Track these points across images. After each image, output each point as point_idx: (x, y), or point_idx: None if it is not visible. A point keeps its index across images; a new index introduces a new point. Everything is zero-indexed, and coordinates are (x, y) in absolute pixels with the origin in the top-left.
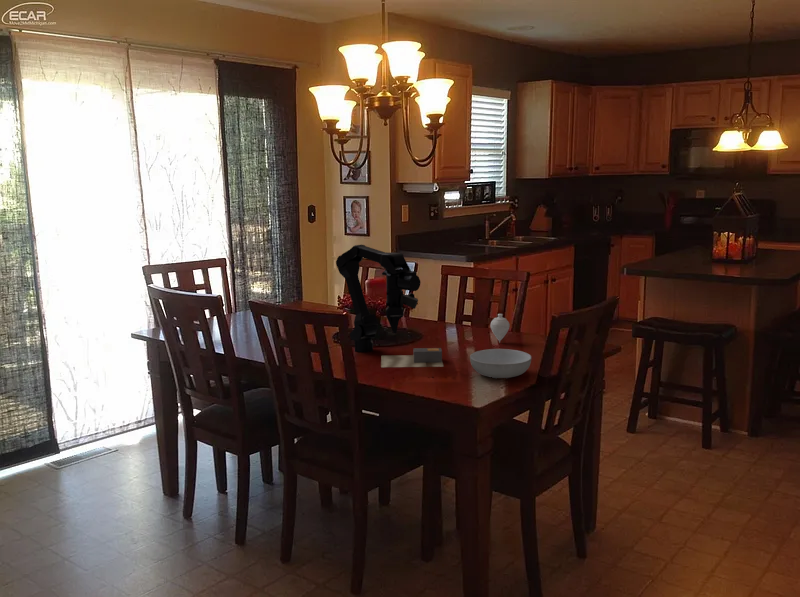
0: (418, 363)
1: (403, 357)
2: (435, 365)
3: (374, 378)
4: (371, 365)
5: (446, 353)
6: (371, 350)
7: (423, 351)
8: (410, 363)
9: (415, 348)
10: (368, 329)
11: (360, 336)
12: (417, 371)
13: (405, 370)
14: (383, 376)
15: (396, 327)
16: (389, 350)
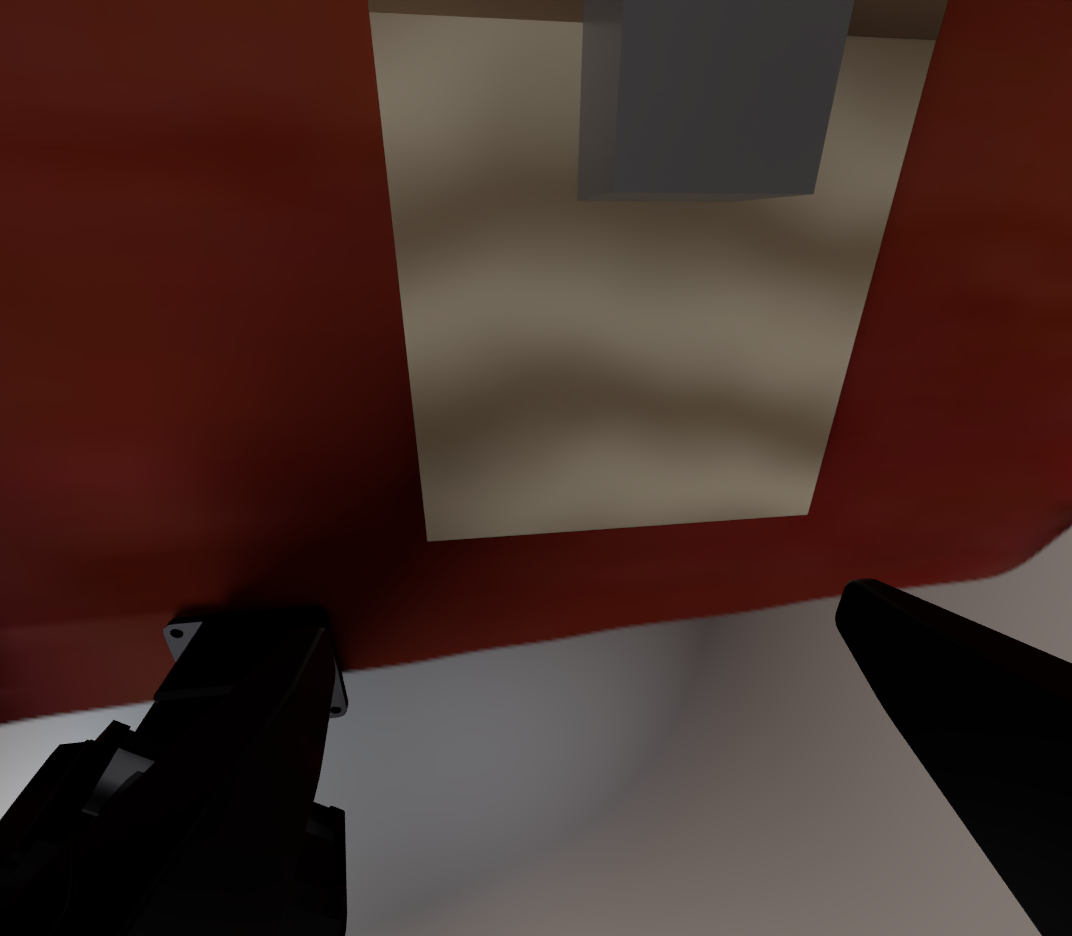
0: None
1: (498, 324)
2: None
3: (937, 525)
4: (610, 573)
5: None
6: (269, 636)
7: (841, 11)
8: (752, 247)
9: (624, 155)
10: (286, 903)
11: (343, 856)
12: None
13: None
14: (915, 472)
15: (1027, 668)
16: (38, 472)
